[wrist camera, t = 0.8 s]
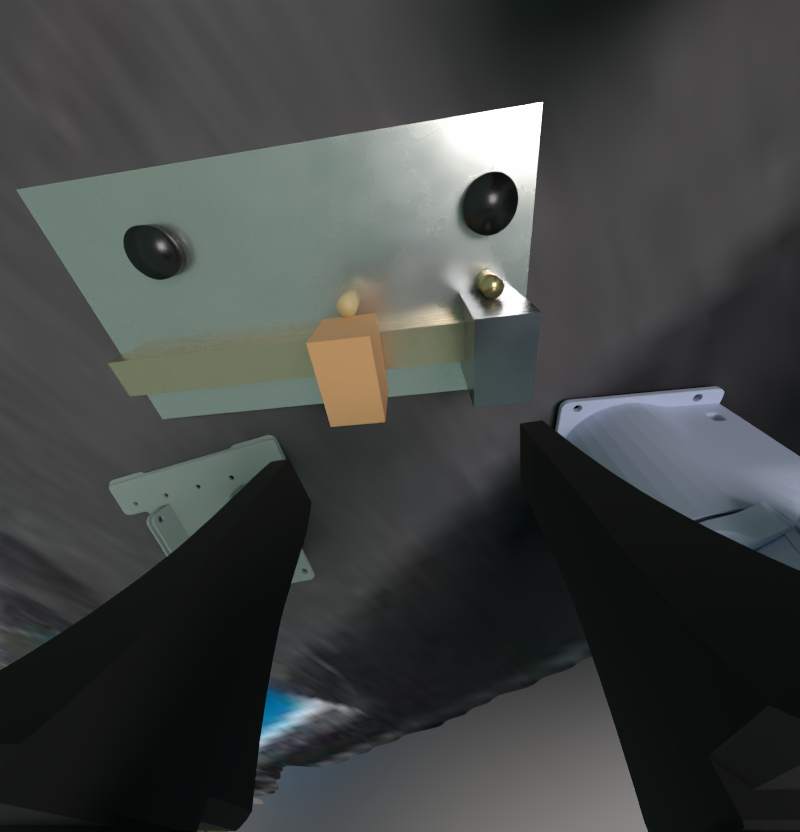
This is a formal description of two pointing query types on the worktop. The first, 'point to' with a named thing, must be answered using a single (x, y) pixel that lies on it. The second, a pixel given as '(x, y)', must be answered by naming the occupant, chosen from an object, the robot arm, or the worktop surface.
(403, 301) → the plate
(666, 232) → the worktop surface
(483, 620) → the worktop surface
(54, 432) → the worktop surface
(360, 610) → the worktop surface
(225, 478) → the metal bracket
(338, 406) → the block
